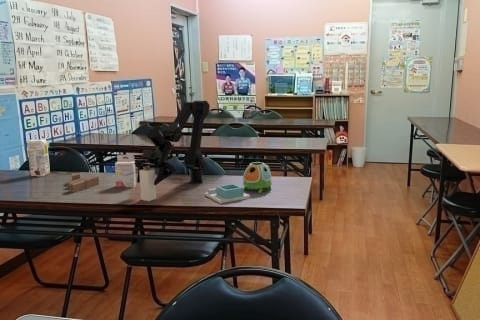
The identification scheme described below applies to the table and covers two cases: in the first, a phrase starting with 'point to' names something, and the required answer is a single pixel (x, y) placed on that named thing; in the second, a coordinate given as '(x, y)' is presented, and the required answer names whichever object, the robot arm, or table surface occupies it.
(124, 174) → the ink cartridge box
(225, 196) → the cleat stand
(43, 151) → the juice carton
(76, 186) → the wooden block set
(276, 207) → the table surface
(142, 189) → the block
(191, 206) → the table surface
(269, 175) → the turtle holder
